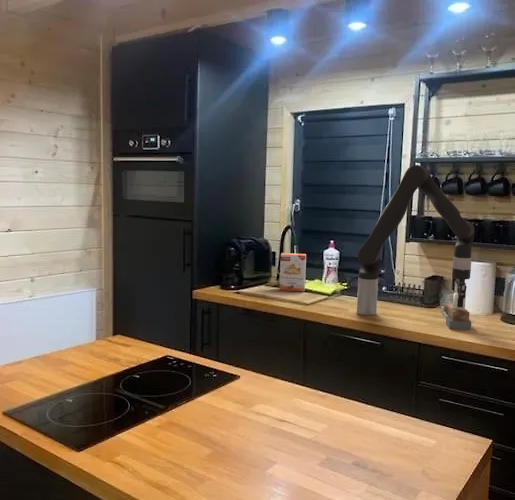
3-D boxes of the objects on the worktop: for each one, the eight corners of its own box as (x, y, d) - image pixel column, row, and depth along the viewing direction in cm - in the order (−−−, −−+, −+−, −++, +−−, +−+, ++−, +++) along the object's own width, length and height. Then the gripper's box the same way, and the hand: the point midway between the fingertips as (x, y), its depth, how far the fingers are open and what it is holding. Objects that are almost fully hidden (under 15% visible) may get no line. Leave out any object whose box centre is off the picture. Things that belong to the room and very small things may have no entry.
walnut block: (452, 320, 241) (453, 311, 241) (448, 316, 248) (448, 307, 248) (468, 321, 241) (469, 312, 240) (464, 317, 248) (464, 308, 247)
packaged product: (440, 302, 272) (461, 303, 271) (439, 311, 273) (460, 312, 272) (447, 311, 255) (469, 312, 253) (446, 321, 256) (468, 322, 254)
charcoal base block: (449, 329, 241) (449, 321, 241) (445, 324, 250) (446, 315, 250) (470, 331, 240) (471, 322, 239) (466, 325, 249) (467, 317, 248)
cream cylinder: (453, 308, 241) (454, 294, 241) (451, 305, 246) (452, 292, 245) (465, 308, 241) (466, 295, 240) (463, 306, 245) (464, 292, 245)
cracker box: (279, 290, 311) (280, 254, 308) (280, 288, 317) (281, 252, 314) (304, 292, 309) (305, 255, 306) (305, 289, 315) (306, 253, 312)
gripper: (449, 264, 248) (447, 301, 251) (455, 269, 234) (452, 309, 237) (467, 265, 247) (464, 302, 250) (474, 270, 233) (471, 310, 236)
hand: (458, 305), depth 243 cm, fingers closed on cream cylinder, 4 cm apart
